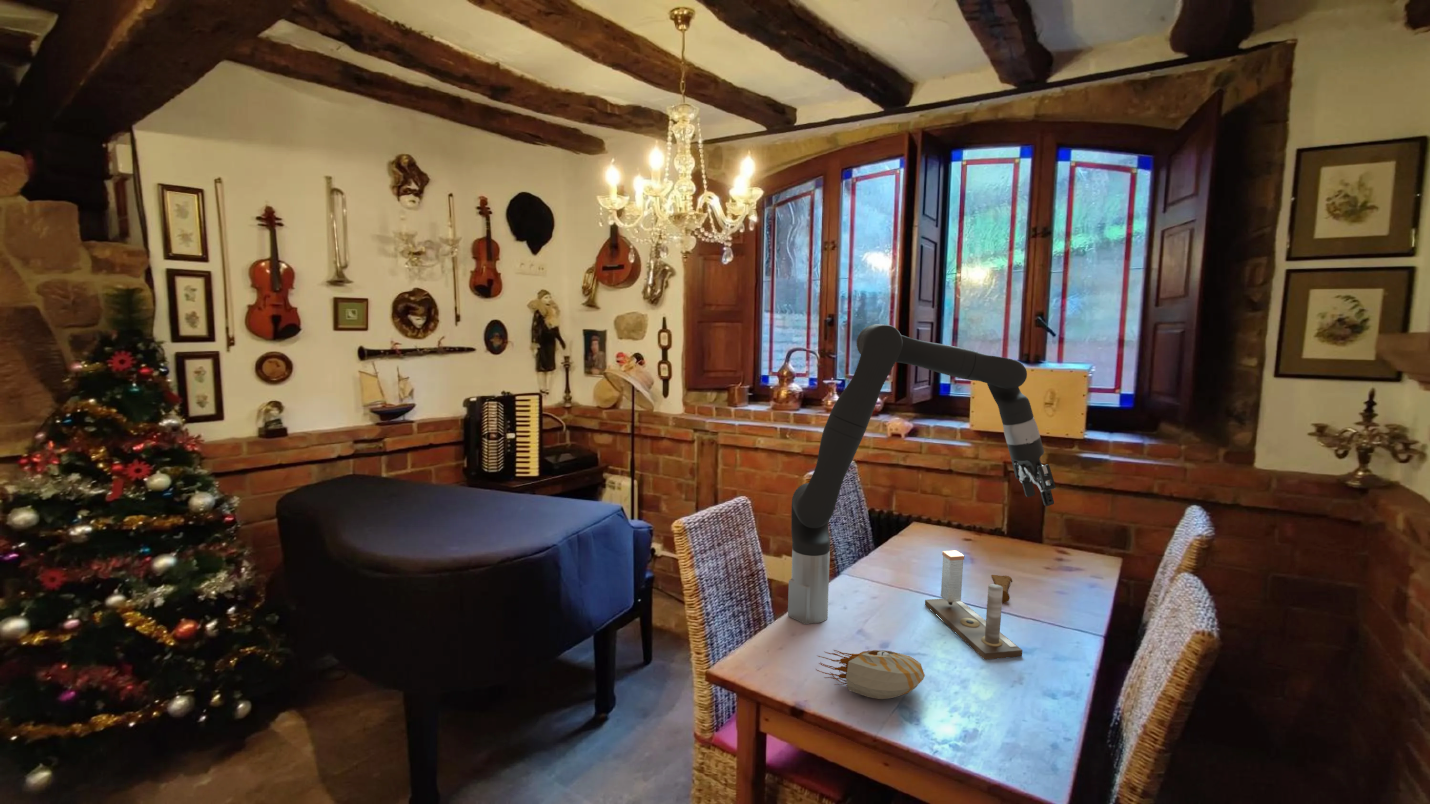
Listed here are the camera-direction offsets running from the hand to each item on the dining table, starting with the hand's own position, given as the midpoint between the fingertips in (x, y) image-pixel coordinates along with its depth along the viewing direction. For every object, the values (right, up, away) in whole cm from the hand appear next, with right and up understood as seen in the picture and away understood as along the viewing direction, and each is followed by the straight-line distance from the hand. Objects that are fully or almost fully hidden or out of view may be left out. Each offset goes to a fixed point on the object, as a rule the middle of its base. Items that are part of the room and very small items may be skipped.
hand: (1039, 500), depth 156 cm
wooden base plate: (-18, -31, -2) cm, 36 cm away
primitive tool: (0, -28, +21) cm, 35 cm away
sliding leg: (-20, -27, +6) cm, 34 cm away
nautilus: (-48, -34, -26) cm, 65 cm away
